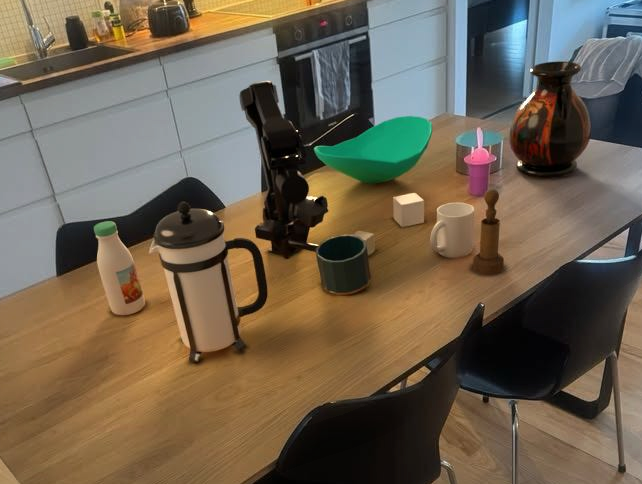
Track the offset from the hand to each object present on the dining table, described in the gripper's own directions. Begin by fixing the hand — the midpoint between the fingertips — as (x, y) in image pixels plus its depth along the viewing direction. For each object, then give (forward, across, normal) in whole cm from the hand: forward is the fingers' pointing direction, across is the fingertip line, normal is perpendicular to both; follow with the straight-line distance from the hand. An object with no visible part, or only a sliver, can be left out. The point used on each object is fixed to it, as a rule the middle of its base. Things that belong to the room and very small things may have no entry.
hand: (295, 253), depth 155 cm
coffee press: (+6, -31, -3) cm, 31 cm away
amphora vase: (+6, +82, -28) cm, 87 cm away
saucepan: (+5, +1, -8) cm, 9 cm away
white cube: (+6, +36, -9) cm, 38 cm away
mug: (+6, +23, -27) cm, 36 cm away
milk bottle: (+6, -30, +26) cm, 40 cm away
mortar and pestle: (+6, +20, -38) cm, 43 cm away
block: (+5, +15, -8) cm, 18 cm away
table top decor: (+6, +59, +15) cm, 62 cm away
